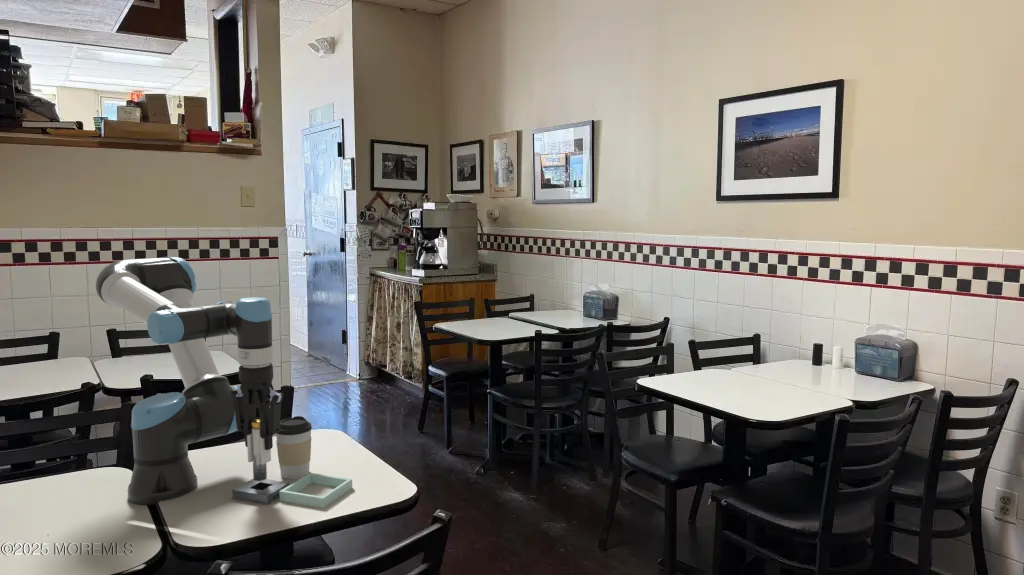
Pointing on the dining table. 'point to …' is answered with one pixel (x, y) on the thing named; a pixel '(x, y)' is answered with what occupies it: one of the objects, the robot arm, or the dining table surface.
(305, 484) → the tray
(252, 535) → the dining table surface
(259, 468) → the pin
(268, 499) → the block
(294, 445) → the coffee cup
